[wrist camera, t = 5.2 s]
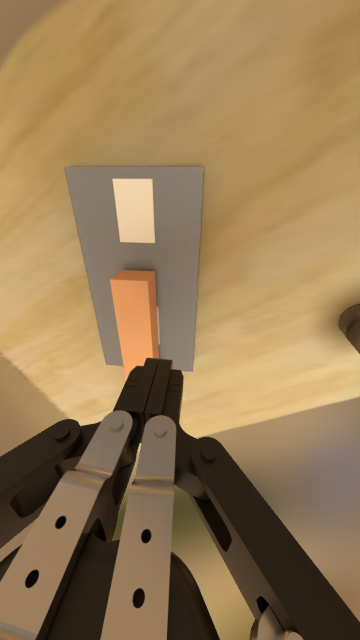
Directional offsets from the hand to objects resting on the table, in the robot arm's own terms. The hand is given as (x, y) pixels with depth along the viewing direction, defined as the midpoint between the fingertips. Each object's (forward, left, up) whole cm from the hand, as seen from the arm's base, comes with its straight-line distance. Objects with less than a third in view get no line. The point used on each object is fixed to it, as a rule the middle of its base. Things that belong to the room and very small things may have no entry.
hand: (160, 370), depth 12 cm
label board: (+4, -5, -17) cm, 18 cm away
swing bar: (+9, -5, -15) cm, 18 cm away
